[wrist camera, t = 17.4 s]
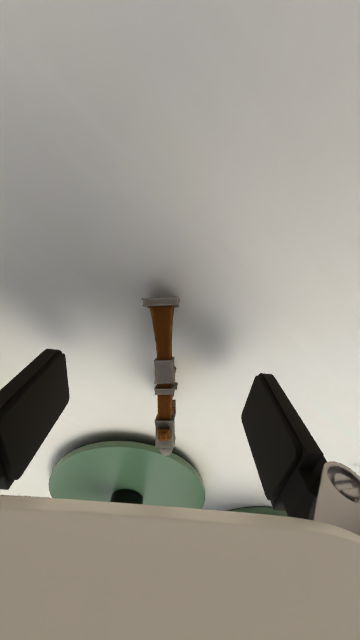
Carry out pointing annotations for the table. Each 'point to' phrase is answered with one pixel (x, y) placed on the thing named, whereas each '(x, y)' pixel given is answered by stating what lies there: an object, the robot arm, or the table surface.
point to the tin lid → (127, 476)
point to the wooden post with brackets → (164, 370)
